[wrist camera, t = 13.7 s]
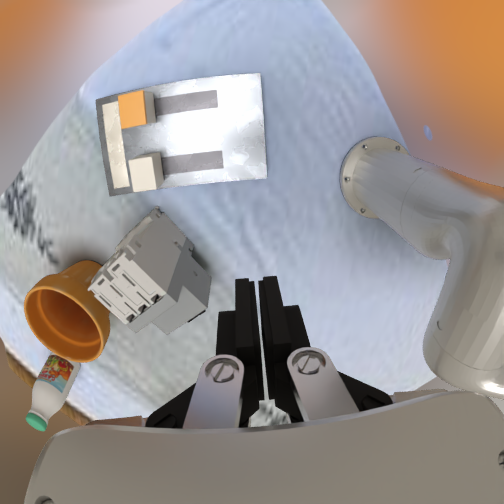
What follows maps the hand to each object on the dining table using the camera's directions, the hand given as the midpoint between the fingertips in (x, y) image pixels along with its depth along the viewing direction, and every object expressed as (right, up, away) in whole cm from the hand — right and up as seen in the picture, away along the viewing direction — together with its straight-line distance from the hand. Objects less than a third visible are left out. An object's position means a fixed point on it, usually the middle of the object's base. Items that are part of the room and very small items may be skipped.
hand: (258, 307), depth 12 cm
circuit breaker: (-13, +2, +33) cm, 36 cm away
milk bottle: (-43, -22, +43) cm, 65 cm away
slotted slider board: (-10, +18, +25) cm, 33 cm away
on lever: (-13, +13, +24) cm, 31 cm away
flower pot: (-28, -3, +35) cm, 45 cm away
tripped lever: (-14, +20, +21) cm, 32 cm away
